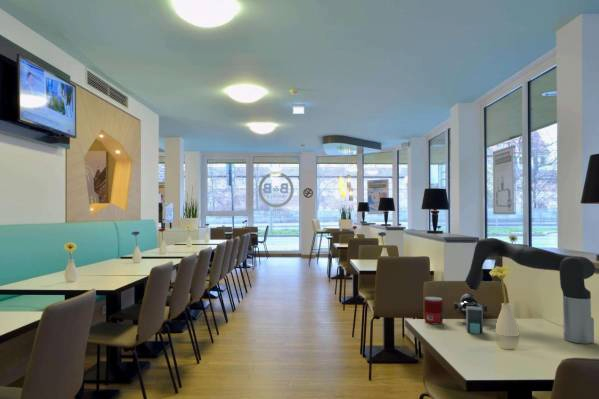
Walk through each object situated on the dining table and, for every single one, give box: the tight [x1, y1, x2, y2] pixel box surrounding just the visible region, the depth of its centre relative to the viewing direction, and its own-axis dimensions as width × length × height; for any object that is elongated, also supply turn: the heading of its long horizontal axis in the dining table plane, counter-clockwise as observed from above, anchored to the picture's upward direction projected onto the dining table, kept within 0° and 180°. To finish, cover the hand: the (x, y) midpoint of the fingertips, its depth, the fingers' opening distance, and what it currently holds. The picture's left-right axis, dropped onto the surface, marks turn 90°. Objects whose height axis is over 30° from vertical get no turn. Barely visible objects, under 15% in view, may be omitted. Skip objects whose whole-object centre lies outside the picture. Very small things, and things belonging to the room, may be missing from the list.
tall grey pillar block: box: [465, 306, 484, 335], centre depth 175 cm, size 6×6×10 cm
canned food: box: [423, 296, 444, 324], centre depth 191 cm, size 8×8×11 cm
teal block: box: [468, 321, 481, 334], centre depth 175 cm, size 4×4×4 cm
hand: (471, 309), depth 186 cm, fingers open, 8 cm apart
